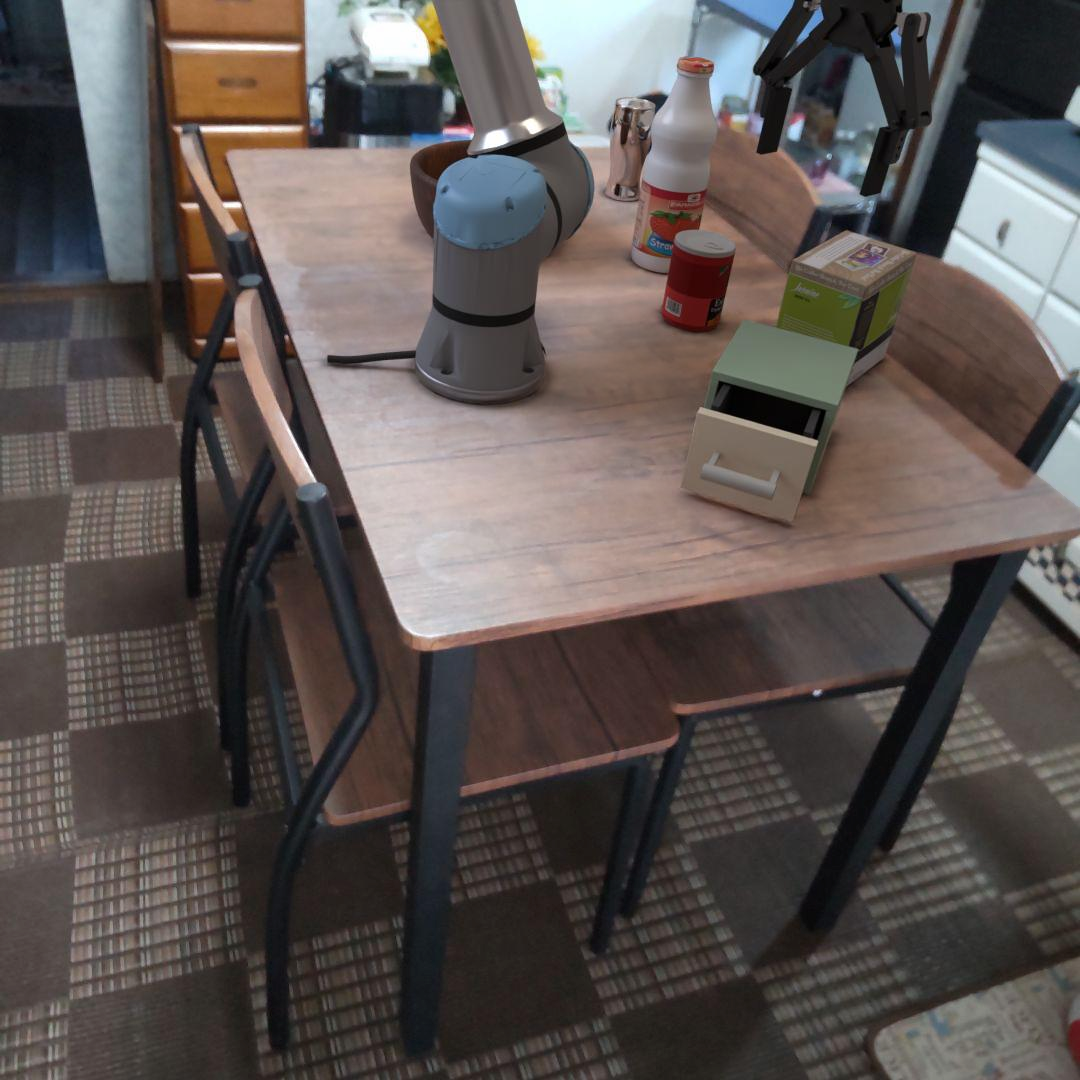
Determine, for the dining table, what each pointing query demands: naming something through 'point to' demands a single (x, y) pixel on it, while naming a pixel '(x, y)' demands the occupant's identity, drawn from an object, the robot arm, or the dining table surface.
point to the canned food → (697, 279)
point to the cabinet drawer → (752, 450)
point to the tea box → (848, 295)
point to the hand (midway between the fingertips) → (816, 172)
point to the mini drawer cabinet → (787, 374)
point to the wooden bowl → (432, 175)
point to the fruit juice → (676, 166)
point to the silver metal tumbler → (629, 146)
